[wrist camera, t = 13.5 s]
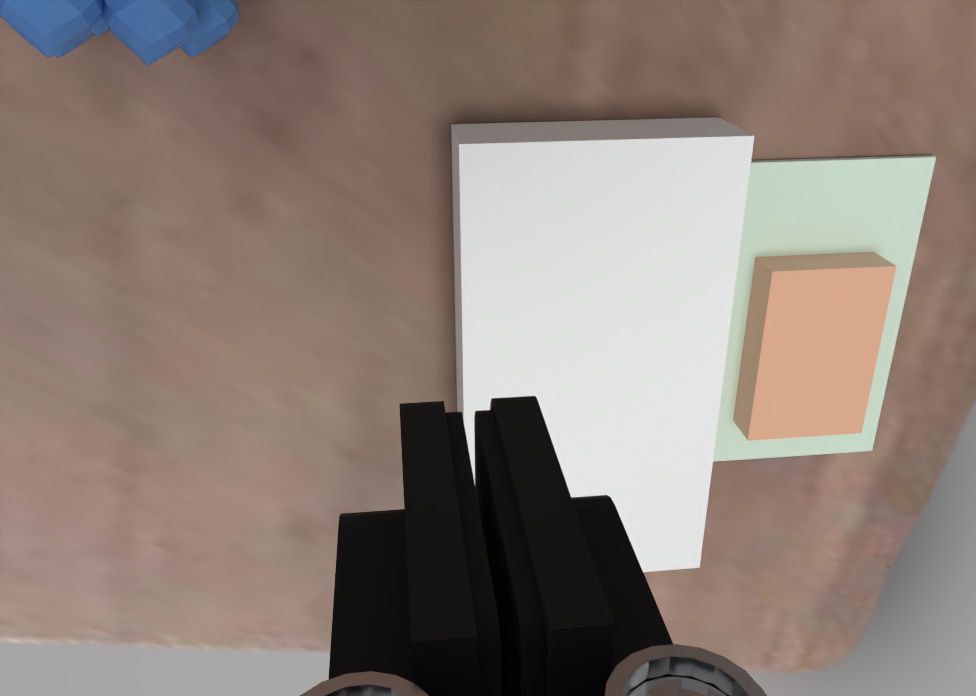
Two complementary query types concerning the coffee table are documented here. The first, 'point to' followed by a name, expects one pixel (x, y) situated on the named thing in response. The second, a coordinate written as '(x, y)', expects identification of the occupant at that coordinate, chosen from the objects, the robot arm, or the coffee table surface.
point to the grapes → (122, 24)
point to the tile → (811, 344)
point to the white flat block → (605, 302)
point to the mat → (824, 230)
